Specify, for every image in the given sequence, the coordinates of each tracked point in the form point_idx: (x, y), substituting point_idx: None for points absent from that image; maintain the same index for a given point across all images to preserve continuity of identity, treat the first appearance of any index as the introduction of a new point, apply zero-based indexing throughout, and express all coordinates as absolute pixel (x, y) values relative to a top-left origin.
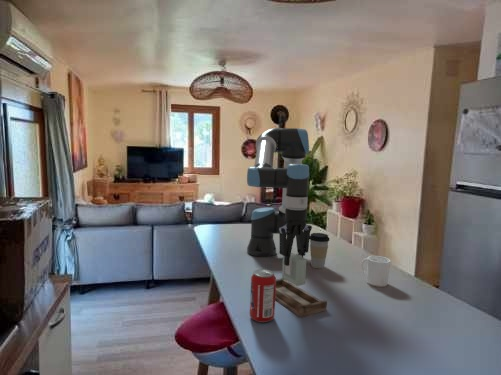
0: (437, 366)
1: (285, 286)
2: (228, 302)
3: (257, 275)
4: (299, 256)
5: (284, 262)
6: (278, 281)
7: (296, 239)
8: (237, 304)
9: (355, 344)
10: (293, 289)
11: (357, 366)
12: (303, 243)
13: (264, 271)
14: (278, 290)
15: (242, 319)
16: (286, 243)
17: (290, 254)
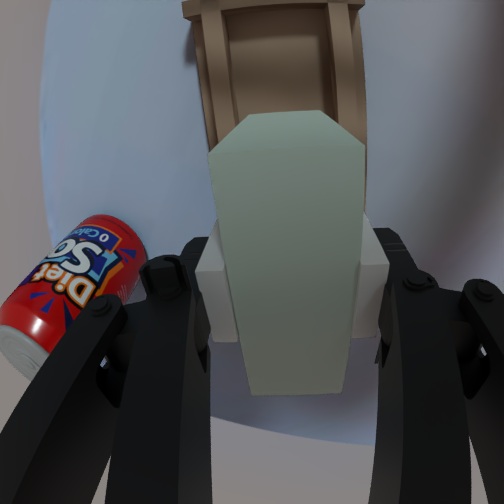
0: (352, 440)
1: (328, 39)
2: (39, 111)
3: (13, 366)
4: (345, 330)
5: (183, 256)
6: (298, 4)
7: (399, 486)
8: (60, 132)
9: (287, 397)
10: (335, 110)
11: (242, 420)
12: (495, 394)
13: (29, 354)
14: (223, 128)
15: (63, 232)
16: (126, 436)
17: (208, 362)
